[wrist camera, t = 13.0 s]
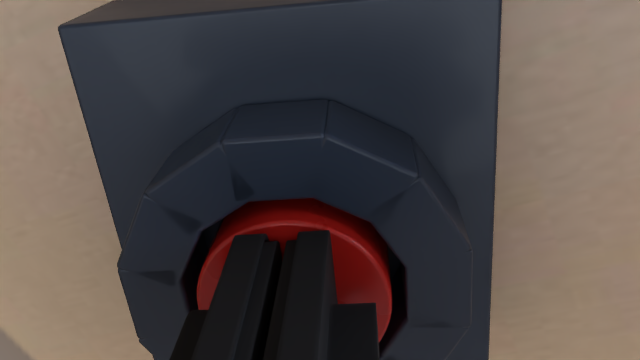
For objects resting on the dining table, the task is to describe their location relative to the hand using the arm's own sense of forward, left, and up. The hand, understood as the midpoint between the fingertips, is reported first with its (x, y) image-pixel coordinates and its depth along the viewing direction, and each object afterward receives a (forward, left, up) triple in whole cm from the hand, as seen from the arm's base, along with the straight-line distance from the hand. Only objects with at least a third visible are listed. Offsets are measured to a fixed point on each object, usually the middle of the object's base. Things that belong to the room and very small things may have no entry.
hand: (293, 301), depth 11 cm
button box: (0, 0, -5) cm, 5 cm away
